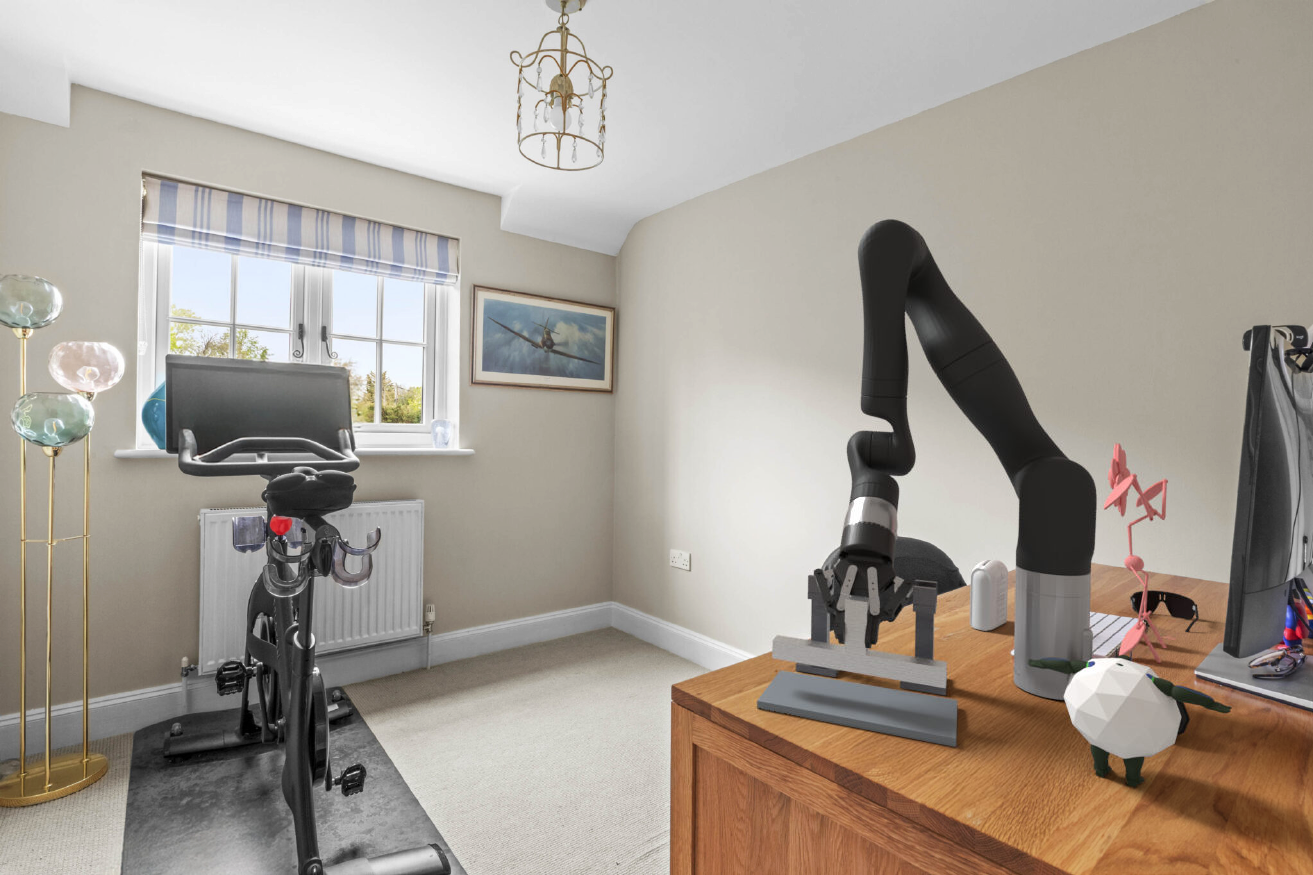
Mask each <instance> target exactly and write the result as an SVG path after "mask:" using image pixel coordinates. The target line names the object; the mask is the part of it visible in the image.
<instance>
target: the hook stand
mask: <svg viewBox="0 0 1313 875" xmlns="http://www.w3.org/2000/svg"><path fill="white" fill-rule="evenodd" d="M815 570H816V569H814V570H813V574H809V575H807V599H808V600H811V604H810V605H811V608H810V611H811V612H810V620H811V621H810V640H812V641H818V642H824V643H830V642H831V640H830V639H831V636H830V635H831V634H830V632H831V629H830V628H831V626H830V625H831V614H829V613H827V612H826V609H825V606H824V603H823V600H822V597H821V594H820V591H819V588H818V585H817V582H816V578H815V573H814V571H815ZM822 570H823V569H822ZM823 571H825V570H823ZM914 581H915V582H914V585H913V595H912V612H914V613H915V619H914V620H915V622H914V623H915V628H914V629H915V630H914V632H915V635H914V657H919V658H925V659H932V660H935V659H934V657H935V656H934V653H935V652H934V651H935V650H934V648H935V615H936V612H937V607H938V581H932V580H921V579H915V580H914ZM834 582H835V578H833V579H832V584H831V586H830V587H829V590H830V593H831V596H832V597H833V595H834V592H835V583H834ZM830 644H831V643H830ZM795 672H802V673H806V674H807V673H808V674H812V675H813V674H814V675H819V676H823V677H830V678H836V677H837V676H838V674H839V672H840V670H837V669H831V668H825V667H820V666H814V665H808V664H802V663H797V662H795ZM947 682H948V673H947V674H946V685H947ZM899 688H900V689H902V690H909V691H915V692H922V693H928V694H932V695H940V696H946V695H947V687H946V688H940V687H935V686H929V685H923V684H917V683H912V682H906V681H900V680H899Z"/></svg>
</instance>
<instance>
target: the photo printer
mask: <svg viewBox="0 0 1313 875" xmlns="http://www.w3.org/2000/svg"><path fill="white" fill-rule="evenodd" d="M1008 581H1009V570H1008V567H1007V566H1006V564H1005V563H1004V562H1002V561H1000V559H999V560H998V559H991V558H988V559H984V560H982V561H981V562H979V563H978V564H976V565H975V566H974V567H973V569H972V570H971V573H970V587H969V588H970V596H969V598H970V599H969V624H970V627H972V629H973V630H979V631H985V632H988V631H992V630H994V629H996V628H998V627H1000V626H1002V625H1003V624H1005V623H1007V621H1008V600H1009V599H1008V594H1009V593H1008V590H1009V588H1008V587H1009V582H1008Z"/></svg>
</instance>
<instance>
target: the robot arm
mask: <svg viewBox="0 0 1313 875" xmlns="http://www.w3.org/2000/svg"><path fill="white" fill-rule="evenodd" d="M857 248H858V249H857V259H858V268H859V270H858V271H859V277H860V286H861V295H862V296H861V298H862V310H863V346H862V348H863V351H862V371H861V372H862V373H861V387H860V388H861V389H860V410H861V412H862V414H864V415H866V416H869V417H874V418H877V419H881V420H884V421H886V422H887V423H889V425H890V426H891V428H892V430H893V431H881V430H880V431H877V430H875V431H874V430H858V431H856V432H855V433H853V434H852V435H851V436H850V438H849V439H848V441H847V445H846V455H847V463H848V467H849V471H850V476H851V492H850V495H849V496H850V497H849V503H848V509H847V511H846V514H845V518H844V521H843V528H842V535H841V539H840V546H839V552H838V558H837V560H836V562H835V563H834V564H833V567H832V568H831V569H827V570H824V571H823V569H822V568H815V569H814V570H815V571H814V570H813V574H814V573H815V578H816V582H817V585H818V588H819V591H820V594H821V597H822V600H823V603H824V606H825V609H826V612H827V613H829V614H830V615H831V614H832V615H834V616H835V617H834V618H835V619H834V624H833V634H834V637H835V640H838V645H844V644H845V599H846V598H847V596H848V595H854V596H861V597H869V598H870V612H869V615H868V620H867V625H866V632H865V648H868V649H869V650H872V645H873V646H876V645H877V643H878V640H879V632H880V631H879V629H880V624H881V623H882V622H888V623H893V622H895V620H896V619H897V618H898V616H899V615H900V613H901V612H902V611H903V609H904V607H905V606H906V605H907V603H908V602H909V601H910V599H911V597H913V586H914V582H913V580H912V579H911V578H905V579H903V578H901V577H899V576H897V572H896V570H895V568H894V566H895V555H896V548H897V547H896V545H897V541H898V526H899V525H898V524H899V523H898V508H899V501H900V500H899V499H900V486H899V484H898V481H897V480H896V479H895V478H894V477H904V476H907V475H908V474H909V473H911V471H912V470H913V469H914V467H915V463H916V460H917V458H916V457H917V454H916V447H915V443H914V440H913V435H912V433H911V428H910V423H909V417H908V389H909V374H910V373H909V368H910V367H909V366H910V364H909V348H908V340H907V333H906V315H907V316H908V318H909V319H910V322H911V324H912V326H913V327H914V328H913V329H914V330H915V333H916V336H917V338H918V340H919V341H918V342H919V344H920V346H921V348H922V351H923V353H924V356H925V357H926V359H927V360H926V361H928V364H929V365H930V367H931V368H932V371H933V372H934V374H935V375H936V377H937V379H938V380H939V381H940V384H941V385H942V386H943V388H944V389H945V390H946V392H947V394H948V395H949V397H950V398H951V399H952V400H953V402H954V403H955V404H956V406H957V407H958V408H959V410H960V411H961V412H962V413H963V414H964V416H965V417H966V418H967V419H968V421H969V422H970V423H971V424H972V425H973V426H974V428H975V429H976V430H977V431H978V432H979V433H980V434H981V435H982V436H983V437H984V438H985V440H986V441H987V443H988V444H989V446H990V447H991V448H992V450H993V452H994V453H995V455H996V457H997V459H998V460H999V462H1000V464H1001V466H1002V467H1003V469H1004V472H1005V473H1006V475H1007V477H1008V479H1009V481H1010V483H1011V485H1012V486H1013V489H1014V491H1015V492H1014V493H1015V495H1016V496H1017V498H1018V536H1017V544H1016V548H1015V579H1014V580H1015V582H1014V583H1015V586H1014V588H1015V589H1014V590H1015V591H1014V596H1015V597H1014V638H1013V639H1014V640H1013V646H1014V648H1013V649H1014V650H1013V654H1014V655H1013V683H1014V685H1015V686H1017V687H1018V688H1020V689H1021V690H1022V691H1025V692H1027V693H1030V694H1033V695H1034V696H1035V695H1036V696H1038V697H1042V698H1048V699H1052V700H1053V699H1054V700H1061V701H1065V699H1064V694H1065V691H1066V688H1067V685H1068V682H1069V678H1070V675H1071V674H1064V673H1060V672H1057V671H1054V670H1050V669H1041V668H1037V667H1032V666H1030V665H1029V664H1028V662H1029V659H1032V660H1040V659H1041V658H1047V657H1051V658H1061V659H1066V660H1068V661H1073V660H1081V661H1087V662H1088V661H1089V660H1091V659H1093V651H1094V650H1093V648H1094V646H1093V643H1094V642H1093V641H1094V640H1093V639H1094V634H1093V633H1094V632H1093V631H1092V629H1091V589H1092V588H1091V586H1092V585H1091V584H1092V583H1091V579H1092V578H1091V577H1092V573H1091V572H1092V560H1093V557H1094V554H1095V548H1096V529H1097V528H1096V527H1097V504H1098V503H1097V502H1098V498H1097V487H1096V483H1095V480H1094V478H1093V476H1092V475H1091V473H1090V472H1089V471H1088V469H1086V468H1085V467H1084V466H1083V465H1082V464H1080V463H1078V462H1076V461H1074V460H1071V459H1070V458H1068V456H1067V455H1066V454H1065V453H1064V452H1063V451H1062V450H1061V449H1060V447H1059V446H1058V445H1057V444H1056V443H1055V441H1054V440H1053V439H1052V437H1050V435H1049V434H1048V433H1047V431H1046V430H1045V429H1044V427H1043V426H1042V425H1041V424H1040V422H1039V420H1038V419H1037V417H1036V416H1035V413H1034V411H1033V410H1032V407H1031V405H1030V402H1029V400H1028V399H1027V396H1026V393H1025V392H1024V389H1023V387H1022V384H1021V382H1020V380H1019V379H1018V377H1017V375H1016V373H1015V371H1014V369H1013V368H1012V366H1011V365H1010V363H1009V361H1008V359H1007V358H1006V356H1005V355H1004V354H1003V352H1002V350H1001V349H1000V348H999V346H998V345H997V344H996V342H995V341H994V340H993V338H992V336H991V335H990V334H989V333H988V331H987V330H986V329H985V328H984V326H983V324H981V322H980V321H979V320H978V319H977V317H976V316H975V315H974V314H973V312H971V310H970V309H969V308H968V307H967V306H966V305H965V304H964V303H963V302H962V300H961V299H960V298H959V297H958V296H957V295H956V294H955V292H954V291H953V289H952V288H951V287H950V285H949V283H948V282H947V281H946V278H945V277H944V274H942V273H943V272H941V269H940V268H939V266H938V264H937V263H936V261H935V258H934V255H933V254H932V252H931V250H930V249H929V246H928V244H927V243H926V240H925V239H924V237H923V235H922V234H921V233H920V232H919V231H918V230H916V229H915V228H913V227H912V226H911V225H910V224H908V223H906V222H904V221H901V220H899V219H884V220H880V221H878V222H875V223H874V224H872V225H871V226H870V227H869V228H867V230H865V232H864V234H863V235H862V237H861V239H860V240H859V244H858V247H857ZM833 578H834V579H835V580H836V581H837V584H839V587H840V588H841V590H840V593H839V594H840V595H839V598H838V601H836V600H834V598H833V595H832V596H831V593H830V590H829V587H830V586H831V584H832V579H833ZM892 586H894V594H893V595H892V597H891V598H890V599H889V601H888V602H886V605H885V606H884V607H881V605H880V604H881V602H880V597H882V595H884V594H885V593H886V592H887V591H888V590H889V589H890V588H891V587H892Z"/></svg>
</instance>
